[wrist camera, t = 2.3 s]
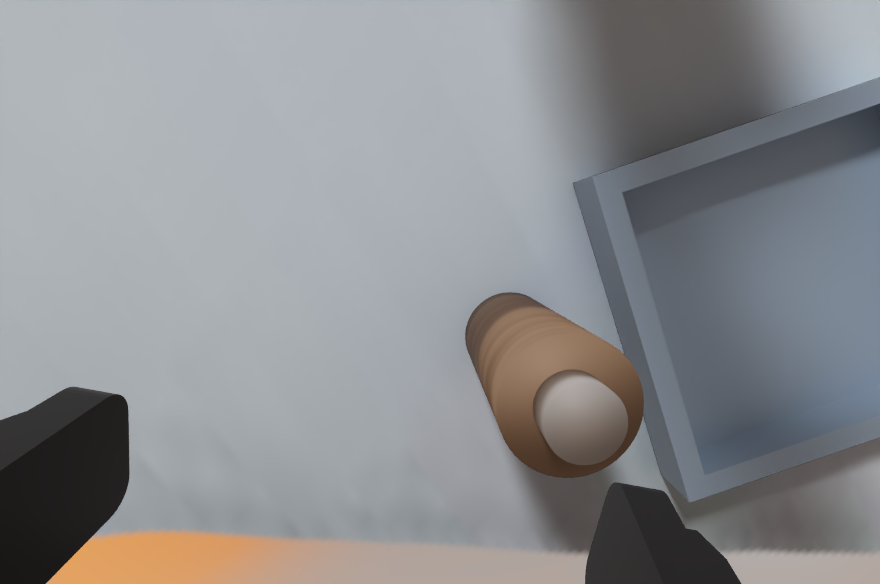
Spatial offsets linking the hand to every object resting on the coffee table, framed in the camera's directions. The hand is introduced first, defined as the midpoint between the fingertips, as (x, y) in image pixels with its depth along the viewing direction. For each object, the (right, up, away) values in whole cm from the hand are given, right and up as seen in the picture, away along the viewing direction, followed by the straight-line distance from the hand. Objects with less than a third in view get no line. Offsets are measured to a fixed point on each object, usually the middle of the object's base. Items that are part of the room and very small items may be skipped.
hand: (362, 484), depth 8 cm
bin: (+20, +4, +21) cm, 29 cm away
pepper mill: (+5, +1, +21) cm, 21 cm away
